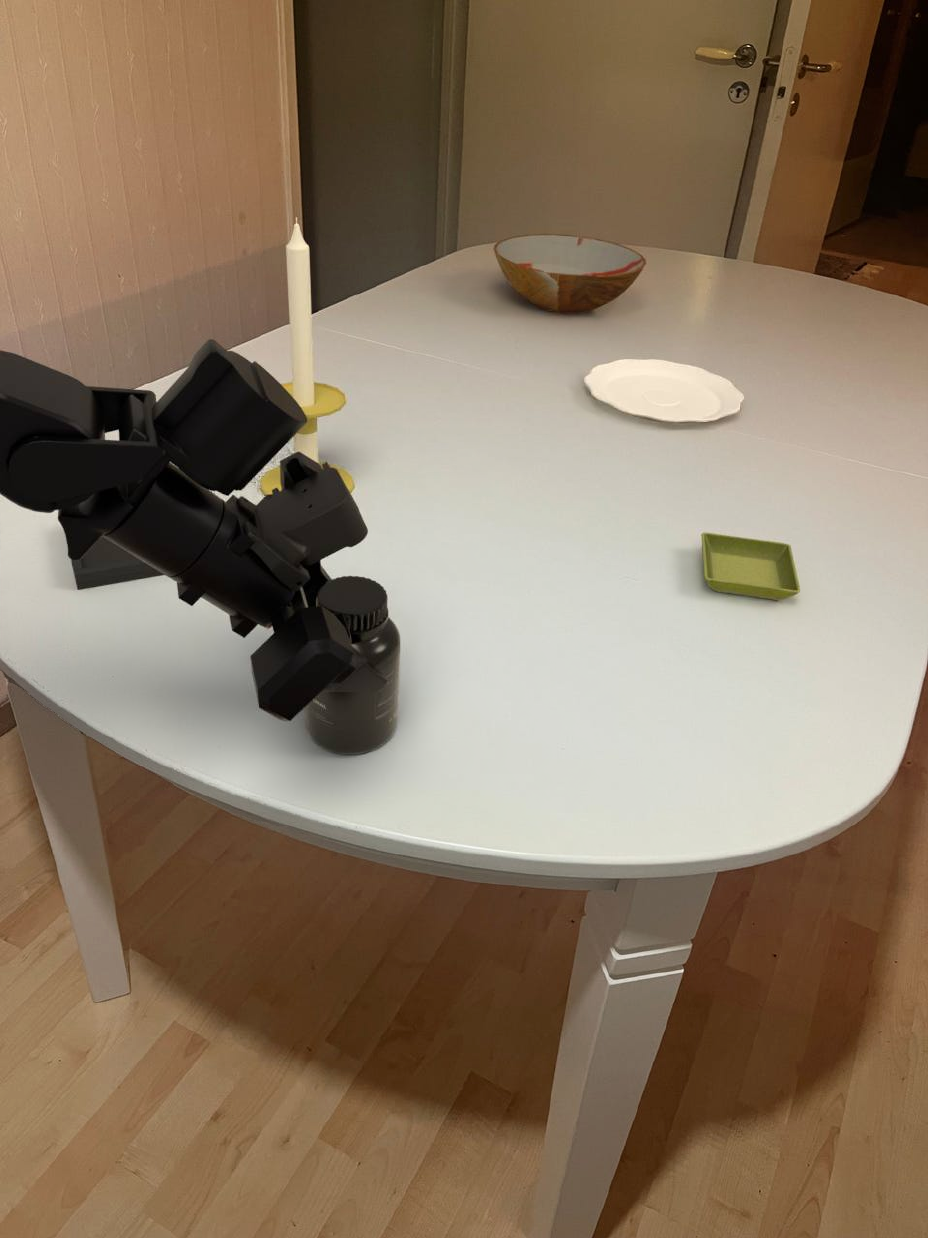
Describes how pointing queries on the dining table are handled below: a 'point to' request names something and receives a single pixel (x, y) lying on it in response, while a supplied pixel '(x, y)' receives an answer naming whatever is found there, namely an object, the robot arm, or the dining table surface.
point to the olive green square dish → (749, 567)
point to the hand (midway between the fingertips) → (370, 654)
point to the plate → (663, 391)
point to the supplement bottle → (374, 635)
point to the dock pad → (109, 566)
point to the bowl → (567, 270)
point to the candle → (304, 364)
